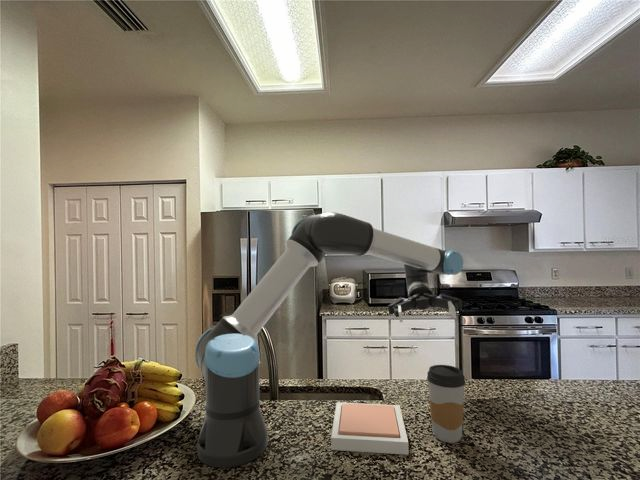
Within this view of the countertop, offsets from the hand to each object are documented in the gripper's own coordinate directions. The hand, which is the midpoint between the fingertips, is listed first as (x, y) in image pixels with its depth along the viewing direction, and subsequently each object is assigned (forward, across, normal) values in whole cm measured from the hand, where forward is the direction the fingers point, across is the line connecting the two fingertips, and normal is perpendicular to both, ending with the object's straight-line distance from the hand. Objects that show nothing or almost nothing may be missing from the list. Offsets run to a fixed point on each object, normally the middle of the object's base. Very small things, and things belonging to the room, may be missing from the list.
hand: (426, 315), depth 88 cm
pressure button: (+14, +17, -20) cm, 30 cm away
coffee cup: (+12, 0, -25) cm, 28 cm away
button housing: (+14, +18, -23) cm, 32 cm away
